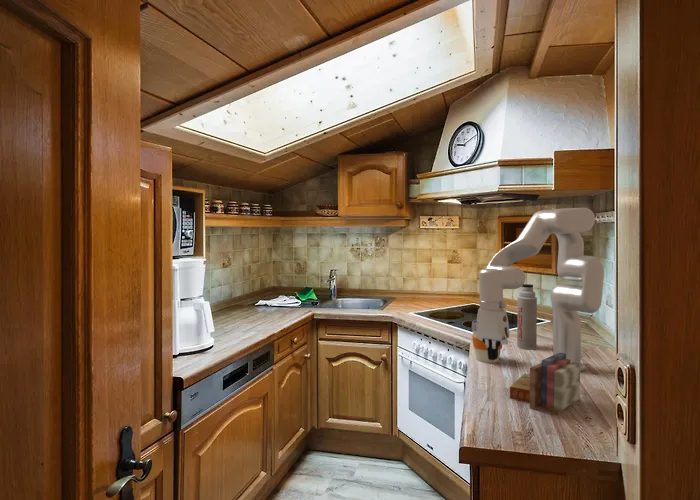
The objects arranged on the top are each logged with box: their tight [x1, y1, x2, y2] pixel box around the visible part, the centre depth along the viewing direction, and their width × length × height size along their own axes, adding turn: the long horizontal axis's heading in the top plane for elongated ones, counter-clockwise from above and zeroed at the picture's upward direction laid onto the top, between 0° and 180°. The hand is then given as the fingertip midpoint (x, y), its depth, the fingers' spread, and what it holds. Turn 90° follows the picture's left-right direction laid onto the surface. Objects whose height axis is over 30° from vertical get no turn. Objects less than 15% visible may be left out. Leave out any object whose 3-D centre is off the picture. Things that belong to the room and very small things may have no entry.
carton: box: [509, 373, 530, 403], centre depth 143 cm, size 8×16×4 cm, turn 143°
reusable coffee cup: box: [471, 319, 503, 364], centre depth 179 cm, size 13×13×15 cm
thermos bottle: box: [516, 283, 538, 350], centre depth 196 cm, size 8×8×28 cm
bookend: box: [529, 353, 581, 416], centre depth 133 cm, size 18×8×14 cm, turn 131°
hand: (492, 358), depth 150 cm, fingers closed
